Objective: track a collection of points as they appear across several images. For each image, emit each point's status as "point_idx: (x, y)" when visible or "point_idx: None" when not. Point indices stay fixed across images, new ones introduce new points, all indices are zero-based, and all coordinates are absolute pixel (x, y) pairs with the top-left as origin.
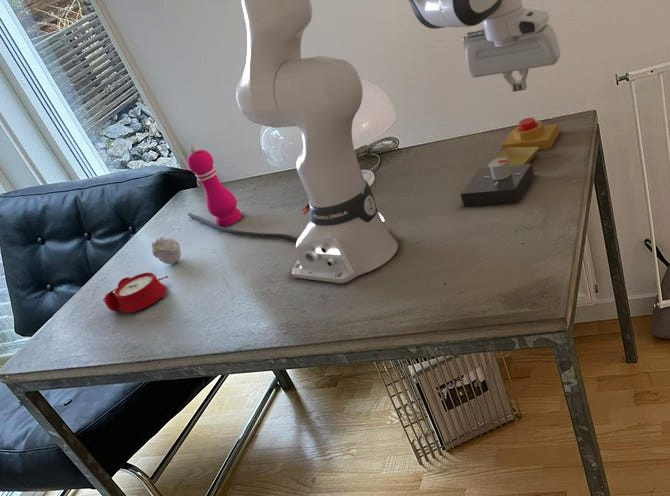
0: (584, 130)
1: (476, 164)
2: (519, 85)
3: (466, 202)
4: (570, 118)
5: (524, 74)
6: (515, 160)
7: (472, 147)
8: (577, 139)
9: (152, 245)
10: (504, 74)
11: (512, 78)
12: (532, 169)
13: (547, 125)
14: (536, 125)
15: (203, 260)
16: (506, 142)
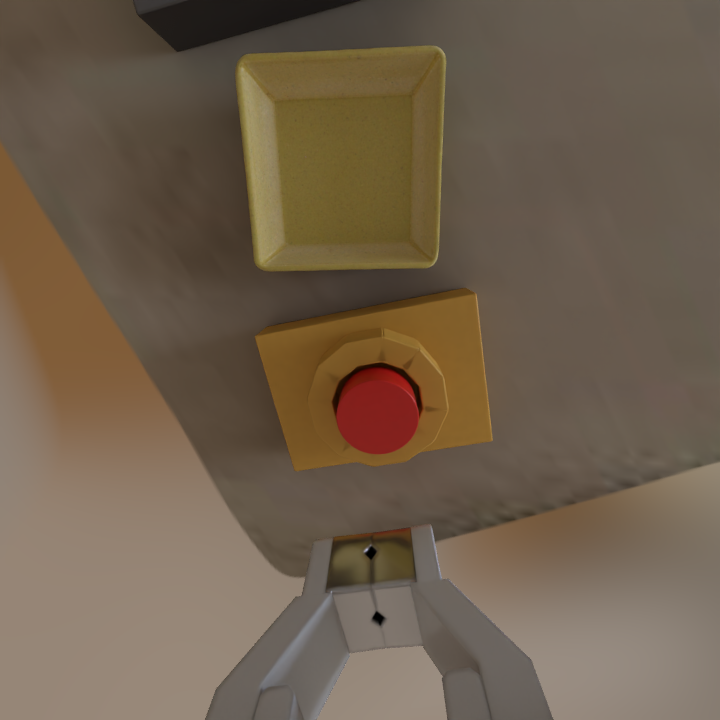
0: (213, 464)
1: (569, 181)
2: (346, 569)
3: None
4: None
5: (230, 688)
6: (355, 197)
7: (667, 354)
8: (196, 399)
9: None
10: (527, 717)
11: (446, 667)
12: (154, 29)
13: (336, 463)
14: None
15: None
16: (461, 317)
